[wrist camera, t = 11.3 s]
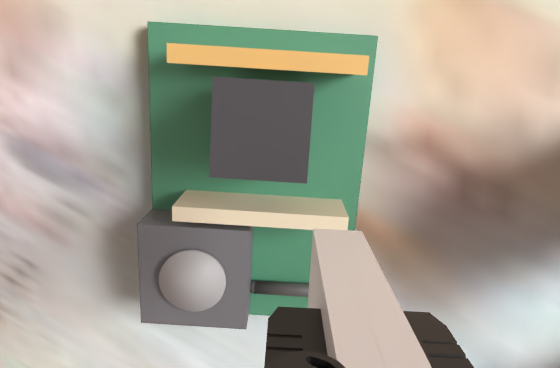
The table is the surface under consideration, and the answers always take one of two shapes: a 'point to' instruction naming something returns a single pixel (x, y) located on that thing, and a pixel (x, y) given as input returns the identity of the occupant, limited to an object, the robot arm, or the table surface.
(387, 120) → the table surface
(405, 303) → the table surface
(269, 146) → the plug
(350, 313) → the robot arm
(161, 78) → the board
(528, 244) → the table surface
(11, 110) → the table surface
